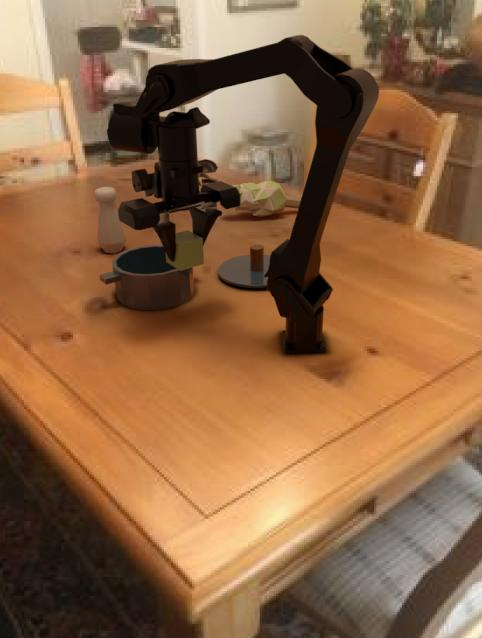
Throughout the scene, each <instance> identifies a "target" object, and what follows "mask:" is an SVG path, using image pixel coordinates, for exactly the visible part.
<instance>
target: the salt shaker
mask: <svg viewBox="0 0 482 638" xmlns="http://www.w3.org/2000/svg"><path fill="white" fill-rule="evenodd" d="M94 199H95V201H96V202H98V216H97V217H98V218H97V242H98V244H99V246H100V247H101V249H103V251H104V253H107V254H115V253H116V254H117V253H119V252H120V253H121V252H122V250H123V249H124V245H125V243H126V234H125V231H124V228H123V225H122V222H121V221H119V214H118V208H117V204H116V202H115V201H116V200H117V191H116V189H115V188H114V187H112V186H102V187H98V188H97V189H95V191H94Z"/></svg>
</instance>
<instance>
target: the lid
mask: <svg viewBox="0 0 482 638" xmlns="http://www.w3.org/2000/svg"><path fill="white" fill-rule="evenodd" d="M270 256H271V254H265V247H264V245H262V244H260V243H259V244H258V243H257V244H252V245H250V246H249V254H244V255H243V254H242V255H239V256H235V257H232V258H228V259H227V260H225V261H223V262H222V263H221V264H220V265H219V266H218V269H217V274H218V277H219V278H220V279H221V280H222V281H224V282H225V283H227V284H230V285H233V286H236V287H241V288H249V289H264V288H267V280H268V277H264V275H265V274H266V273H267V271H268V269H269V263H270Z"/></svg>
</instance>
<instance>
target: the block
mask: <svg viewBox="0 0 482 638" xmlns="http://www.w3.org/2000/svg"><path fill="white" fill-rule="evenodd" d="M166 262H167V263H169V264H170V265H172V266H174V267H175V268H177V269H178V270H180V271H182V270H185V269H189V268H192V267H193V268H195V267H199V266H202V265H204V264H205V257H204V246H203V238H201V237H200V236H198V235H196V234H194V233H193V231H190V230H188V229H187V230H182V231H179V232H176V254H175V261H173V262H172V261H170V260H169V258H168V256H167V254H166Z"/></svg>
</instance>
